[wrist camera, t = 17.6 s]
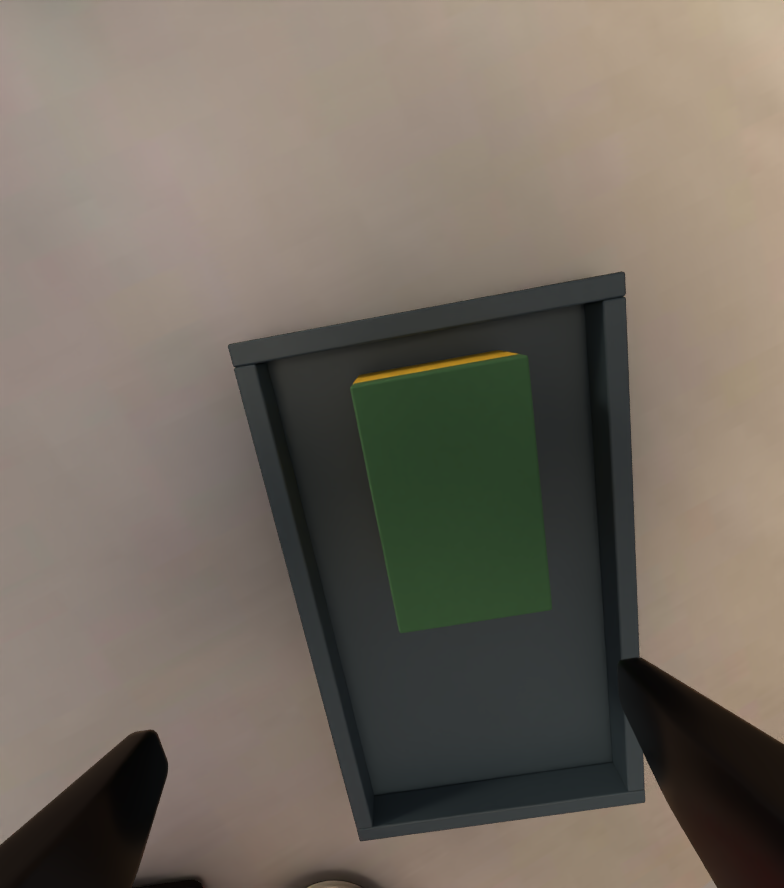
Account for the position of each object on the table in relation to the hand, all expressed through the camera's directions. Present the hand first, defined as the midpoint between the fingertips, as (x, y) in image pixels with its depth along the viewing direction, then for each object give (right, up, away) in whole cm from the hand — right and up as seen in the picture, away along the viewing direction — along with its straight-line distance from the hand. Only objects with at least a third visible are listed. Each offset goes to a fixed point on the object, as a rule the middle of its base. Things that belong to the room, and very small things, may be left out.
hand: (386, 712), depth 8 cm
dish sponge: (+2, +4, +9) cm, 10 cm away
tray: (+3, -1, +11) cm, 12 cm away
